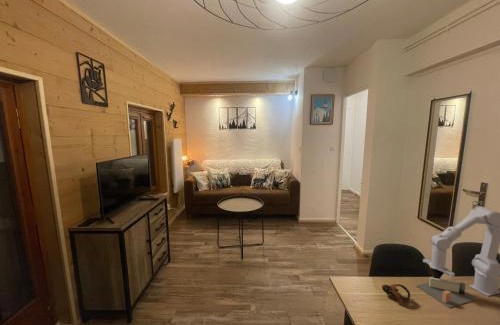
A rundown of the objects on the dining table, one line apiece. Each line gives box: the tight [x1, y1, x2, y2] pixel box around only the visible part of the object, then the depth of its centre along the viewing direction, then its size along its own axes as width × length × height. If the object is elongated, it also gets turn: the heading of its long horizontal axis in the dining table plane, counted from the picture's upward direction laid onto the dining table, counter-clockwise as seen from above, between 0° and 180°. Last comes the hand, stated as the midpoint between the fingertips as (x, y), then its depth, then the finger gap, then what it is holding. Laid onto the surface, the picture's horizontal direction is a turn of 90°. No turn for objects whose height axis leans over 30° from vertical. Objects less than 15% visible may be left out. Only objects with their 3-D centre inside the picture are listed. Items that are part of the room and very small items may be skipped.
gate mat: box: [416, 282, 477, 309], centre depth 114 cm, size 18×16×1 cm
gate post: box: [459, 281, 466, 295], centre depth 113 cm, size 2×2×6 cm
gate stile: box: [442, 290, 451, 303], centre depth 108 cm, size 3×2×5 cm, turn 104°
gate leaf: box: [428, 276, 460, 293], centre depth 116 cm, size 12×1×5 cm, turn 65°
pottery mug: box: [381, 283, 411, 305], centre depth 112 cm, size 12×10×8 cm
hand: (436, 281), depth 119 cm, fingers closed
